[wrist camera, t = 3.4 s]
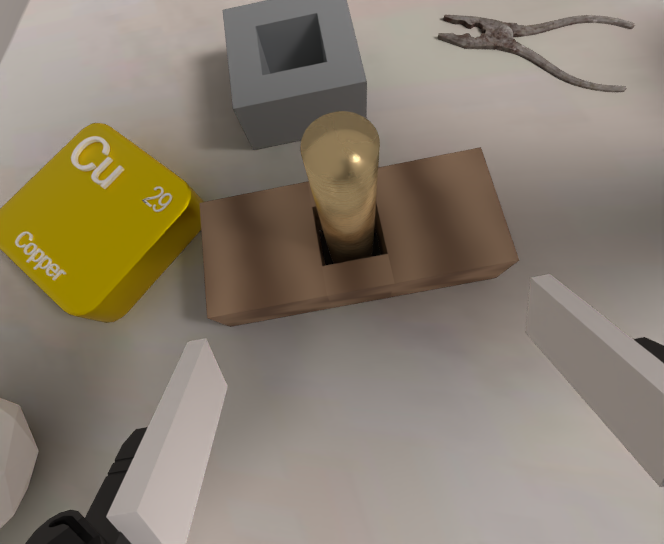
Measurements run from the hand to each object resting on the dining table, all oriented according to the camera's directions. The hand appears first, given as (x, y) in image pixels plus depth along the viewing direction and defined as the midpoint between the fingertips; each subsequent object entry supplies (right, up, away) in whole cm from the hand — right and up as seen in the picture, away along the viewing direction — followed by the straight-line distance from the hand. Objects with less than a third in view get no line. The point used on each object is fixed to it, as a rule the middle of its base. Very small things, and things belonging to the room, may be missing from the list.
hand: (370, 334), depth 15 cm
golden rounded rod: (0, +5, +19) cm, 19 cm away
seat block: (-5, +22, +24) cm, 33 cm away
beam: (0, +5, +19) cm, 19 cm away
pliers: (+20, +26, +24) cm, 40 cm away
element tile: (-23, +7, +22) cm, 33 cm away
